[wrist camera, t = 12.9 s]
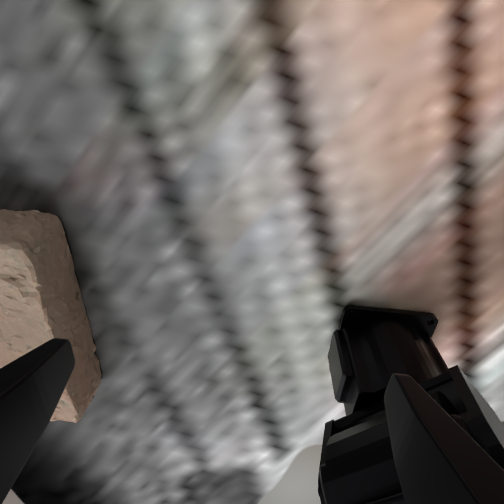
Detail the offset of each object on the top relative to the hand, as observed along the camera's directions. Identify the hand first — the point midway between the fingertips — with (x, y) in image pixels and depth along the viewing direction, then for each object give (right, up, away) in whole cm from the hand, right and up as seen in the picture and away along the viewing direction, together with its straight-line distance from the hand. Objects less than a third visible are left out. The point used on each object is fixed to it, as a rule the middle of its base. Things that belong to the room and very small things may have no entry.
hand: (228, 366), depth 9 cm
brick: (-16, -1, +17) cm, 24 cm away
